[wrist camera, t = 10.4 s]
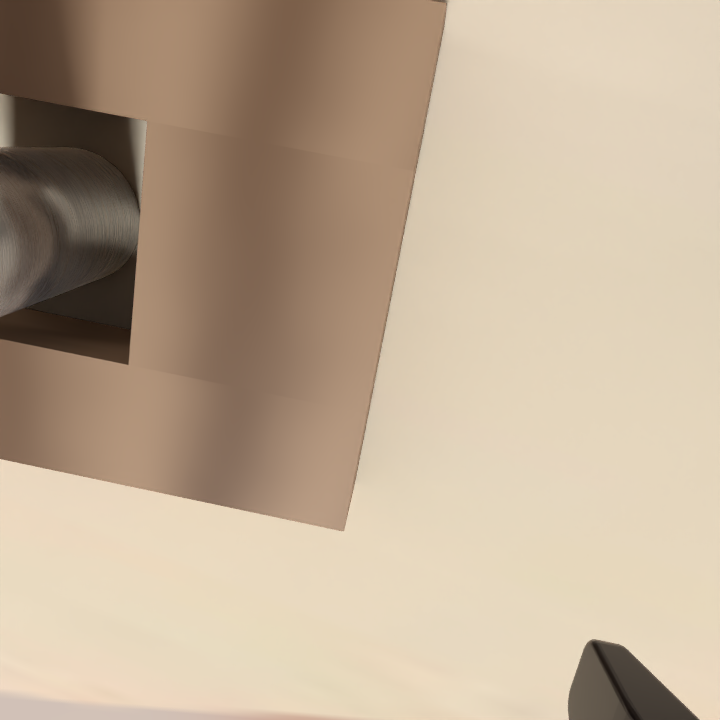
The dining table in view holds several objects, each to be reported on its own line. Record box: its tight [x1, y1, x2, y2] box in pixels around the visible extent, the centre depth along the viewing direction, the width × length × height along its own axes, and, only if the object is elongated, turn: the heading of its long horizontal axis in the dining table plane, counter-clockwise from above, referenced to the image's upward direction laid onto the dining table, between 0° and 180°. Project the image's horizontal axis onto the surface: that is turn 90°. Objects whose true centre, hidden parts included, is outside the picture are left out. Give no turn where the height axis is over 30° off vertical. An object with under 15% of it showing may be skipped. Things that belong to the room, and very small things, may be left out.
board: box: [0, 0, 447, 531], centre depth 19 cm, size 20×14×3 cm
